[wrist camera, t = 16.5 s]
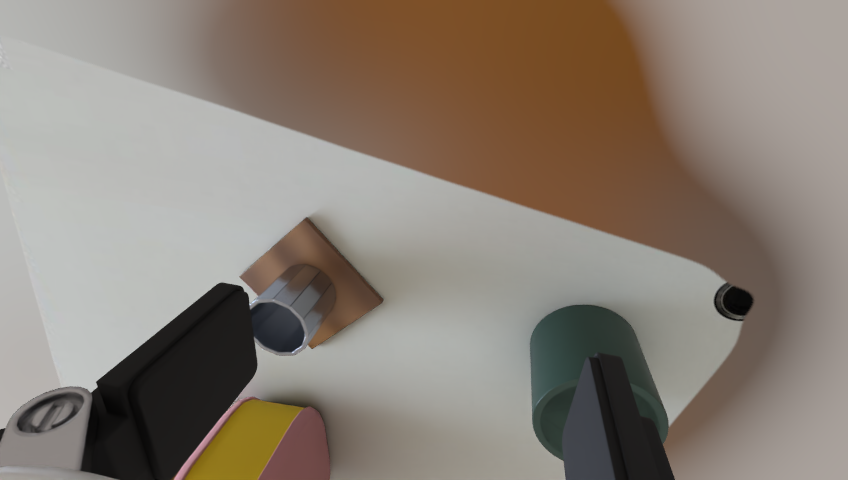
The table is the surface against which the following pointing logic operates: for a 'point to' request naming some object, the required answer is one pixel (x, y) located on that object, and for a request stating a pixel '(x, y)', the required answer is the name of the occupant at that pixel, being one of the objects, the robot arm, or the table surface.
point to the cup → (292, 309)
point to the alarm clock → (262, 445)
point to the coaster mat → (319, 252)
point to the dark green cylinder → (563, 362)
